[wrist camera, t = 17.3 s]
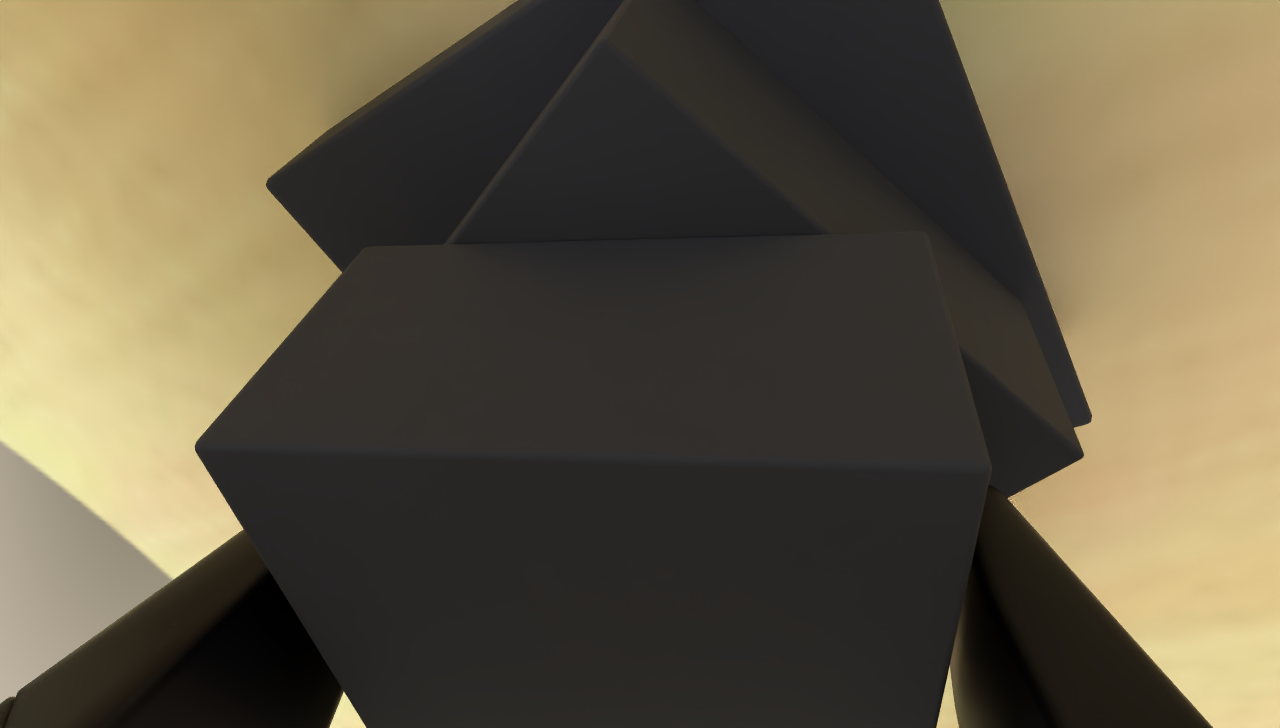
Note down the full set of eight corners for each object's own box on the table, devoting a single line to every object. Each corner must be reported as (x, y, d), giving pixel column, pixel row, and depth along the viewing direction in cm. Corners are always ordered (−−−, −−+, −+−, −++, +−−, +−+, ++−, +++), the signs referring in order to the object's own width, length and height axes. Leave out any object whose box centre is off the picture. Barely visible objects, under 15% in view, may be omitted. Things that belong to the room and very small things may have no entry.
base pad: (846, -226, 9) (858, -220, 8) (1060, 345, 13) (1095, 424, 12) (325, 132, 13) (259, 184, 11) (616, 487, 17) (598, 562, 16)
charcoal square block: (653, -40, 9) (602, 37, 6) (1023, 302, 11) (1087, 457, 8) (395, 308, 12) (302, 439, 10) (705, 518, 14) (688, 669, 12)
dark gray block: (929, 228, 7) (997, 466, 5) (884, 605, 10) (910, 857, 8) (363, 244, 8) (186, 446, 6) (486, 582, 11) (406, 797, 9)
